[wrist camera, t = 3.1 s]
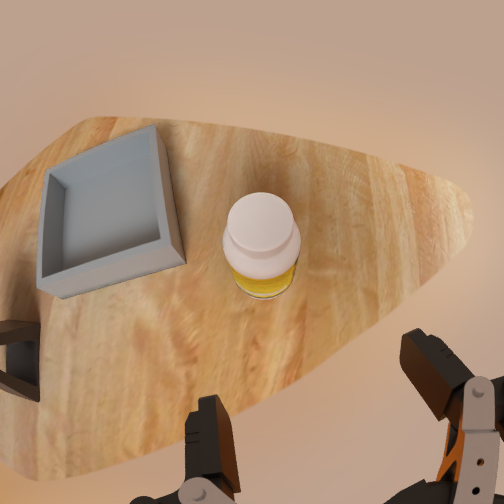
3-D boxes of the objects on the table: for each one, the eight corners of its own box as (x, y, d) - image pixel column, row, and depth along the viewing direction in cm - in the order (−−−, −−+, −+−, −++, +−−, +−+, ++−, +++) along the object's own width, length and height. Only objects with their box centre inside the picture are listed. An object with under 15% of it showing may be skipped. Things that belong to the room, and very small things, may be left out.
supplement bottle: (301, 292, 26) (316, 251, 17) (240, 306, 26) (222, 273, 17) (286, 236, 28) (291, 174, 19) (228, 250, 28) (207, 193, 19)
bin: (62, 299, 27) (36, 288, 23) (64, 189, 32) (45, 170, 28) (186, 263, 28) (171, 245, 23) (166, 149, 33) (155, 123, 29)
